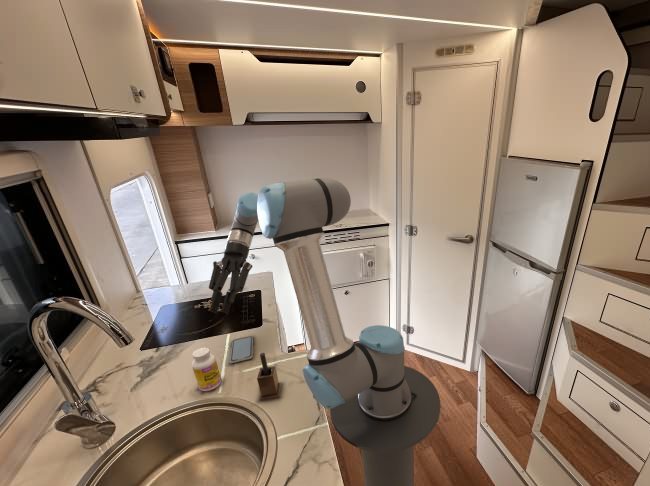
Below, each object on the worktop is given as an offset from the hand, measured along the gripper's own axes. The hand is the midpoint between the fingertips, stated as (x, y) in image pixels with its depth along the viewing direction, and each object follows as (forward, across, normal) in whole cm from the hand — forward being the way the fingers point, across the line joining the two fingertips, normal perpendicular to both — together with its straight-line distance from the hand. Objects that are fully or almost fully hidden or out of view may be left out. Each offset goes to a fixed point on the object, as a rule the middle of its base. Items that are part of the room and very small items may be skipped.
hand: (219, 311), depth 100 cm
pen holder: (+22, -18, -10) cm, 30 cm away
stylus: (+21, -18, -10) cm, 30 cm away
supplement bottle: (+22, +4, -11) cm, 24 cm away
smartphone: (+9, +4, -23) cm, 25 cm away
